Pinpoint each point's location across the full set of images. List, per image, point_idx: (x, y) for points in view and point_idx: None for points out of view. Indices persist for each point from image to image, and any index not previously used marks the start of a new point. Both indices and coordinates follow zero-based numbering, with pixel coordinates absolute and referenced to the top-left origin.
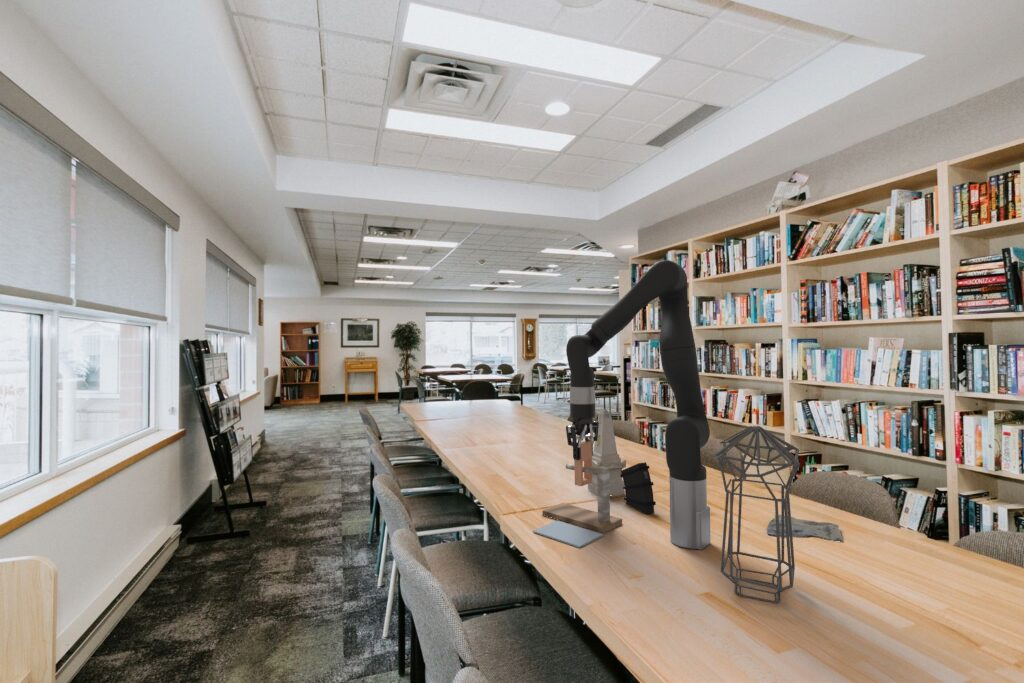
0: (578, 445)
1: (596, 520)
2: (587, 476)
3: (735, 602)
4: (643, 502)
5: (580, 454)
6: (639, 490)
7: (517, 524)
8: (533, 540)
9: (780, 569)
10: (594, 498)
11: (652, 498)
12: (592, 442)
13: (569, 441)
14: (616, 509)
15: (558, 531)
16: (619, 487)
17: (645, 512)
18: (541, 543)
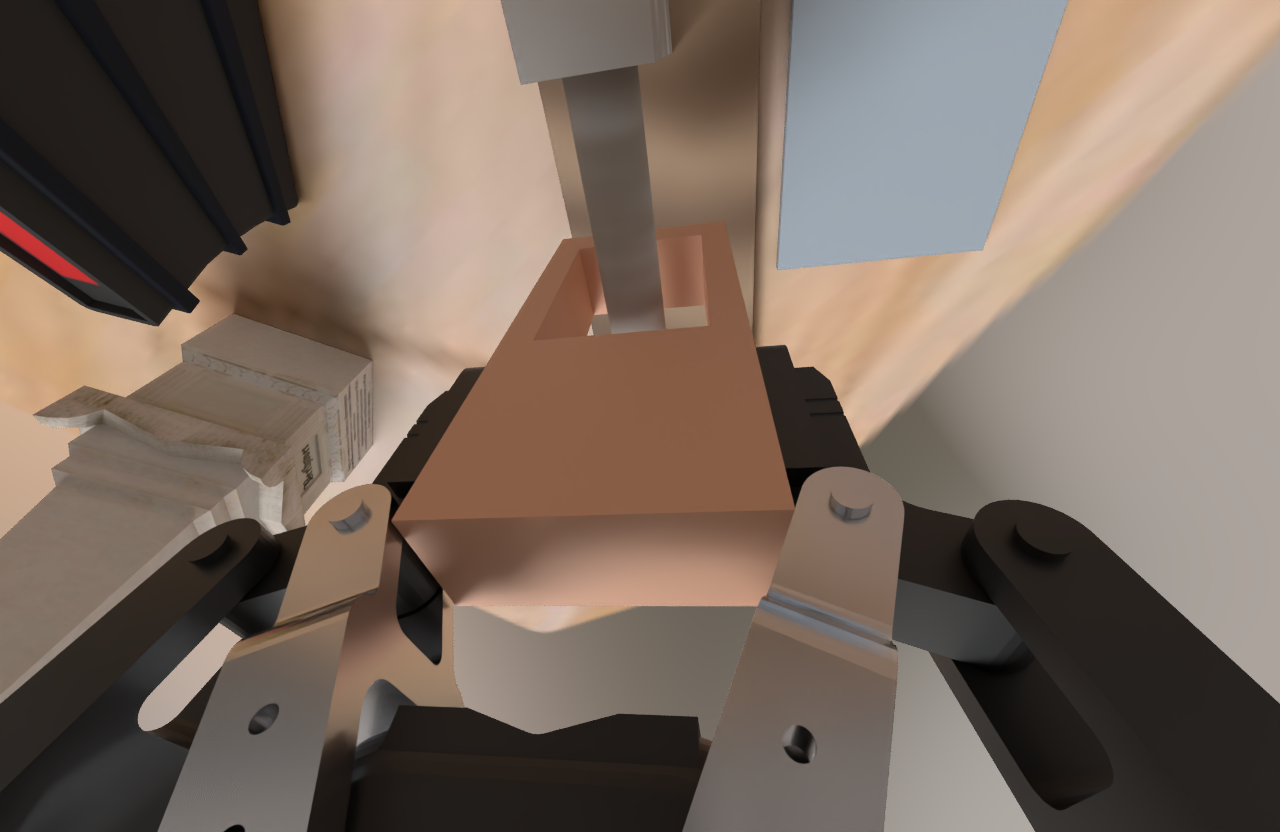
0: (891, 504)
1: (672, 67)
2: (583, 289)
3: None
4: None
5: (768, 384)
6: (148, 55)
7: (911, 362)
8: (1092, 161)
9: None
10: (407, 365)
11: None
12: (373, 508)
13: (1039, 676)
14: (392, 187)
15: (924, 143)
16: (235, 342)
17: None
18: (1126, 90)
